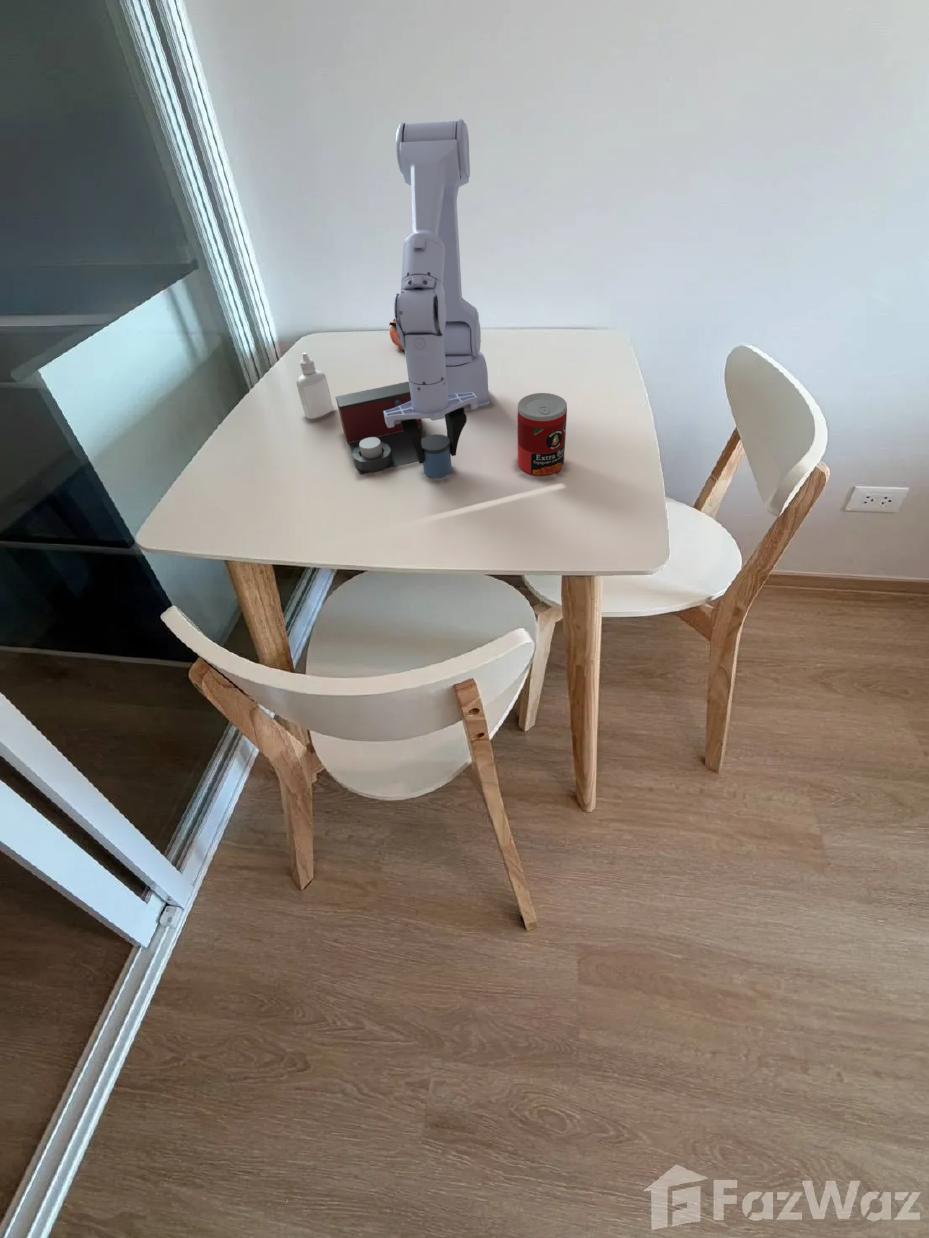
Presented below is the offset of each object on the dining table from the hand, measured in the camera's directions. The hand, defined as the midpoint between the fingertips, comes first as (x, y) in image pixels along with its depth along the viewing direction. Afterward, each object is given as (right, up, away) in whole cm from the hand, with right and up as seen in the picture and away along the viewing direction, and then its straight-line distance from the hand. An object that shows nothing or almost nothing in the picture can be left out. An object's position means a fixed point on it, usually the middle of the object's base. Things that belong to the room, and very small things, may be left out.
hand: (436, 456), depth 102 cm
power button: (-11, +2, +4) cm, 12 cm away
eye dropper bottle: (-24, +13, +19) cm, 33 cm away
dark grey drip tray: (-8, +3, +8) cm, 11 cm away
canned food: (+17, -1, +2) cm, 18 cm away
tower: (-10, +8, +13) cm, 18 cm away
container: (0, -2, +2) cm, 3 cm away
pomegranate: (-8, +35, +39) cm, 53 cm away
